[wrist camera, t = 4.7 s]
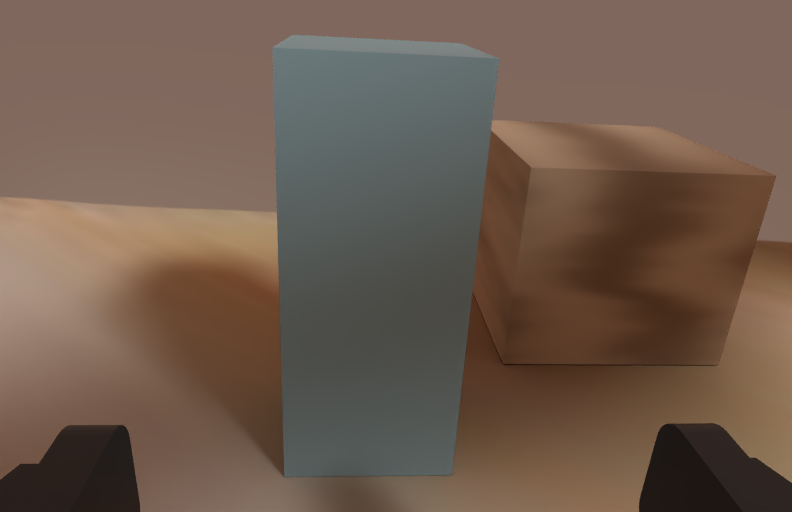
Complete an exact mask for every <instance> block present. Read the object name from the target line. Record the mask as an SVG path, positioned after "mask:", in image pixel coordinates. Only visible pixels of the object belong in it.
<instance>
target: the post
mask: <svg viewBox="0 0 792 512" xmlns="http://www.w3.org/2000/svg"><path fill="white" fill-rule="evenodd" d="M498 64H499V58H496V57H494V56H491V55H489V54H486V53H484V52H481V51H478V50H476V49H474V48H471V47H469V46H466V45H464V44H461V43H440V42H420V41H401V40H382V39H362V38H342V37H324V36H304V35H292V36H290V37H289V38H287V39H286V40H284V41H283V42H281V43H279V44H277V45H276V46H274V47H273V80H274V115H275V116H274V118H275V154H276V190H277V191H276V192H277V229H278V266H279V303H280V340H281V377H282V413H283V450H284V477H325V476H419V475H452V469H453V460H454V452H455V443H456V434H457V425H458V416H459V408H460V399H461V390H462V381H463V372H464V364H465V355H466V346H467V337H468V328H469V320H470V311H471V302H472V293H473V284H474V276H475V267H476V258H477V249H478V240H479V232H480V223H481V214H482V205H483V196H484V188H485V179H486V170H487V161H488V152H489V144H490V135H491V126H492V117H493V108H494V100H495V91H496V81H497V73H498Z"/></svg>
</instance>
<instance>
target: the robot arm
mask: <svg viewBox="0 0 792 512" xmlns="http://www.w3.org/2000/svg"><path fill="white" fill-rule="evenodd" d="M0 512H140V502H139V495H138V489H137V482H136V476H135V469H134V463H133V456H132V450H131V443H130V437H129V433H128V430H127V428H126V427H125V426H123V425H70V426H67V427H65V428H64V429H63V430H62V431H61V432H60V433H59V434H58V436H57V437H56V439H55V440H54V442H53V443H52V445H51V446H50V448H49V449H48V451H47V452H46V454H45V455H44V457H43V458H42V460H41V461H40V463H39V464H20V465H19V466H17V467H16V468H15V469H14V470H12V471H11V472H10V473H8V474H7V475H6V476H5V477H3V478H2V479H1V480H0ZM639 512H792V483H791V482H790V481H788V480H787V479H785V478H784V477H782V476H781V475H779V474H778V473H777V472H775V471H774V470H772V469H771V468H769V467H768V466H767V465H765V464H764V463H762V462H761V461H759V460H758V459H757V458H749V457H748V456H747V454H746V453H745V452H744V451H743V450H742V449H741V448H740V446H739V445H738V444H737V443H736V442H735V441H734V440H733V438H732V437H731V436H730V435H729V434H728V433H727V431H726V430H724V429H723V428H722V427H721V426H719V425H717V424H712V423H709V424H665V425H664V426H662V427H661V429H660V430H659V432H658V435H657V438H656V442H655V445H654V449H653V453H652V456H651V460H650V464H649V467H648V471H647V474H646V478H645V482H644V485H643V489H642V492H641V496H640V502H639Z"/></svg>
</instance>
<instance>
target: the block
mask: <svg viewBox="0 0 792 512" xmlns="http://www.w3.org/2000/svg"><path fill="white" fill-rule="evenodd" d="M775 179H776V176H775V175H773V174H771V173H768V172H766V171H763V170H761V169H759V168H756V167H754V166H751V165H749V164H747V163H744V162H742V161H739V160H737V159H734V158H732V157H730V156H727V155H725V154H722V153H720V152H717V151H715V150H713V149H710V148H708V147H705V146H703V145H700V144H698V143H696V142H693V141H691V140H688V139H686V138H683V137H681V136H679V135H676V134H674V133H671V132H669V131H666V130H664V129H662V128H659V127H645V126H621V125H597V124H572V123H548V122H523V121H499V120H498V121H497V120H492V126H491V135H490V144H489V152H488V161H487V170H486V179H485V188H484V196H483V205H482V214H481V223H480V232H479V240H478V249H477V258H476V267H475V276H474V284H473V294H474V296H475V298H476V301H477V303H478V306H479V308H480V310H481V313H482V315H483V317H484V320H485V322H486V325H487V327H488V329H489V332H490V334H491V337H492V339H493V341H494V344H495V346H496V348H497V351H498V353H499V356H500V358H501V360H502V363H503V364H608V365H718V363H719V360H720V357H721V354H722V350H723V347H724V344H725V341H726V337H727V334H728V331H729V328H730V324H731V321H732V318H733V315H734V312H735V308H736V305H737V302H738V299H739V295H740V292H741V289H742V286H743V282H744V279H745V276H746V273H747V269H748V266H749V263H750V260H751V256H752V253H753V250H754V247H755V243H756V240H757V237H758V234H759V231H760V227H761V224H762V221H763V217H764V214H765V211H766V208H767V205H768V201H769V198H770V195H771V192H772V188H773V185H774V182H775Z"/></svg>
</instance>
